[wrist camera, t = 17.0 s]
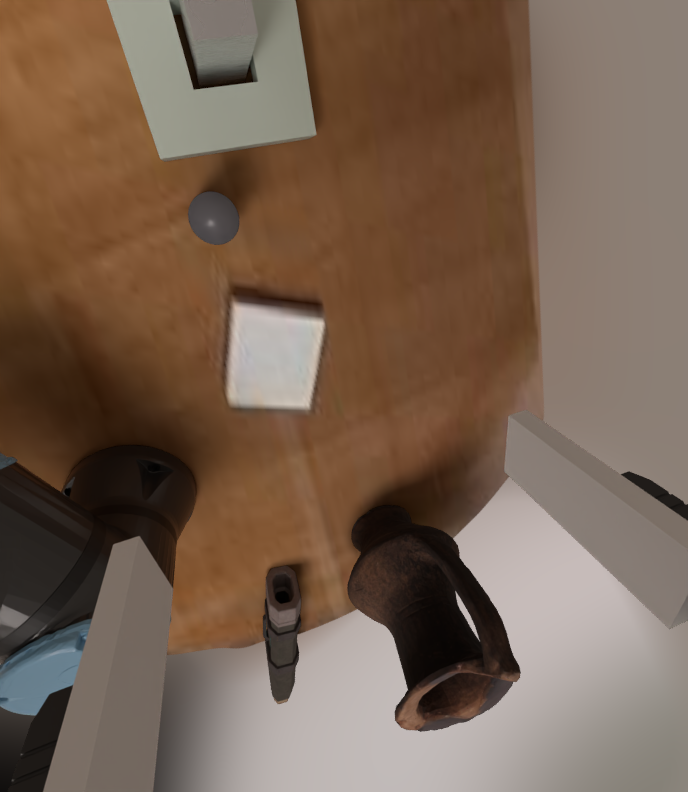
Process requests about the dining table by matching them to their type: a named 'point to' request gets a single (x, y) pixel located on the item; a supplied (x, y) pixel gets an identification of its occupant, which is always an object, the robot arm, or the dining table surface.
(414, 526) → the jug
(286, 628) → the tube
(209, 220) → the round peg
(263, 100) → the socket board
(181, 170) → the dining table surface
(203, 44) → the square peg
